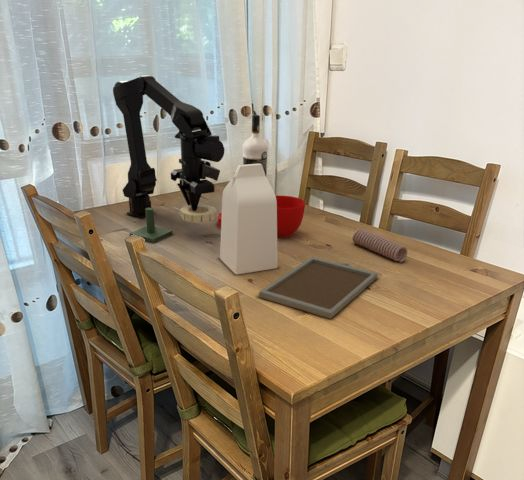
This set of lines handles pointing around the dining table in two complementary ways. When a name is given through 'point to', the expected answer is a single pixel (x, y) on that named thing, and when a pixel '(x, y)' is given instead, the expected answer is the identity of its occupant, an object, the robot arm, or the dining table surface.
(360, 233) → the coil
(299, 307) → the grey picture frame
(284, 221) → the ceramic cup
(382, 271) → the dining table surface
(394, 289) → the dining table surface
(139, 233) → the peg stand
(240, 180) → the milk
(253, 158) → the vodka
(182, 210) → the ring
